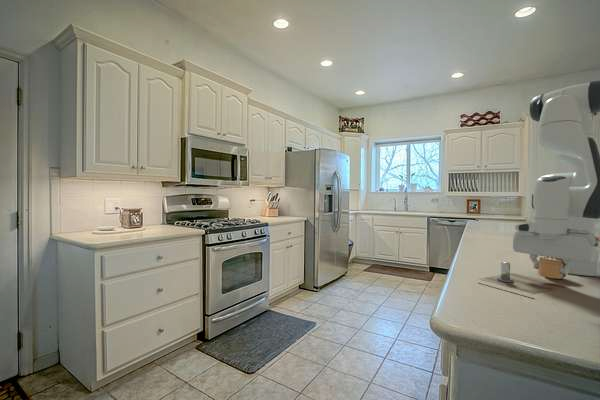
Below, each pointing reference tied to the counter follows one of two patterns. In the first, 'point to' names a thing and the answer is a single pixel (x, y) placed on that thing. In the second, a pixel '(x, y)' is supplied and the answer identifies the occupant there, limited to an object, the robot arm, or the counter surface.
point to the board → (526, 284)
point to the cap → (550, 268)
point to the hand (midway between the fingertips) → (550, 271)
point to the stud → (505, 273)
